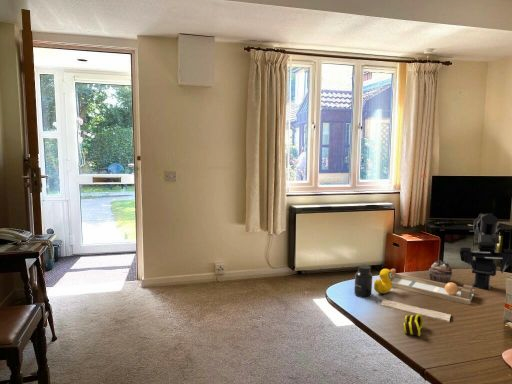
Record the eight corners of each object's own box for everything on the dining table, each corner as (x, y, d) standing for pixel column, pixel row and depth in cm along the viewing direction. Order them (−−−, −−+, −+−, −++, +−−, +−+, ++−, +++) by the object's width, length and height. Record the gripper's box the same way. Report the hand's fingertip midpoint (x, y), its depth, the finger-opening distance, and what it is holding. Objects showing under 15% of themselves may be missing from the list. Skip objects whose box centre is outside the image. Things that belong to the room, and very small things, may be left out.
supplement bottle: (353, 296, 149) (354, 268, 147) (355, 290, 155) (356, 263, 154) (370, 299, 146) (372, 270, 145) (372, 293, 153) (373, 265, 151)
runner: (395, 278, 171) (395, 277, 171) (473, 295, 152) (473, 294, 152) (386, 285, 161) (387, 284, 161) (469, 304, 142) (469, 303, 142)
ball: (445, 291, 155) (446, 279, 154) (458, 293, 152) (459, 282, 151) (443, 294, 151) (444, 283, 150) (456, 297, 148) (457, 285, 147)
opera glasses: (407, 325, 126) (405, 311, 126) (424, 326, 124) (421, 312, 124) (403, 337, 118) (401, 322, 118) (421, 339, 115) (418, 323, 115)
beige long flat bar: (380, 307, 140) (380, 303, 140) (385, 301, 146) (385, 297, 146) (449, 324, 127) (449, 319, 127) (451, 316, 133) (451, 311, 133)
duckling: (386, 287, 159) (387, 265, 158) (397, 291, 155) (398, 268, 153) (370, 293, 152) (371, 270, 151) (381, 297, 148) (382, 273, 147)
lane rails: (392, 276, 173) (392, 268, 172) (473, 294, 152) (474, 285, 152) (382, 285, 162) (382, 276, 161) (469, 305, 141) (470, 295, 141)
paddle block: (463, 293, 152) (464, 284, 152) (471, 295, 150) (472, 286, 150) (460, 299, 146) (461, 290, 145) (468, 301, 144) (469, 292, 143)
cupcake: (452, 280, 168) (453, 259, 167) (450, 287, 160) (452, 265, 159) (429, 276, 173) (430, 256, 172) (426, 282, 165) (428, 261, 164)
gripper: (459, 227, 150) (457, 255, 139) (514, 228, 139) (516, 257, 129) (462, 247, 155) (460, 274, 145) (515, 248, 145) (517, 278, 134)
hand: (487, 271), depth 138 cm, fingers open, 9 cm apart
